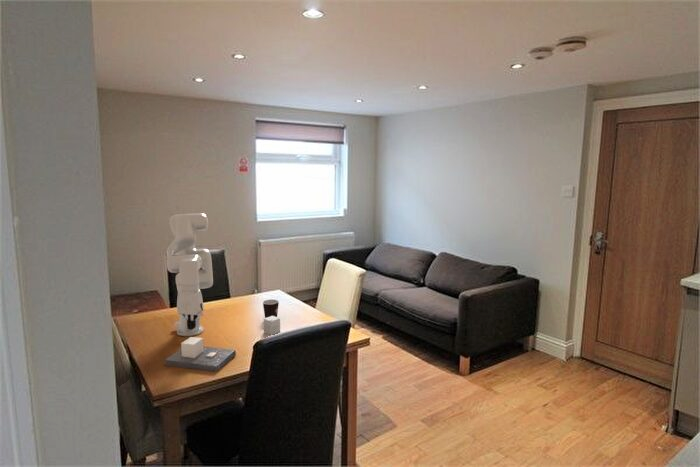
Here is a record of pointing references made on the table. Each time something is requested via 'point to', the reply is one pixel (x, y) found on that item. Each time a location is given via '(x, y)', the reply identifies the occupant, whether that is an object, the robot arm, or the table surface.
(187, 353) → the plug
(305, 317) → the table surface
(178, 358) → the socket plate
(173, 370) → the table surface
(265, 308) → the coffee mug
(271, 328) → the skincare box
